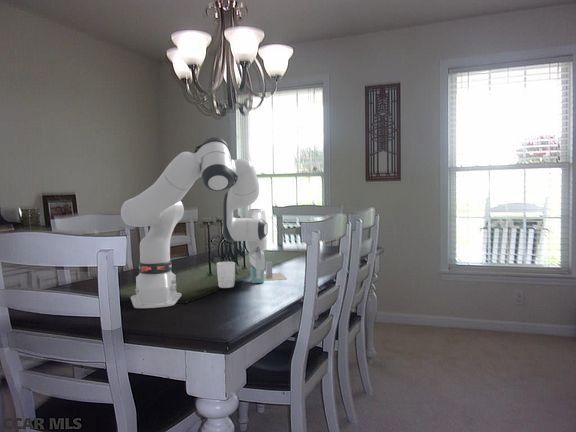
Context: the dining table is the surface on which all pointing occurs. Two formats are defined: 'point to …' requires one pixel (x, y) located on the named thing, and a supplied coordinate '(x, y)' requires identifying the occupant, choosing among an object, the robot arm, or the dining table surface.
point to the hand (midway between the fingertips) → (257, 276)
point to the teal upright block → (253, 275)
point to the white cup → (226, 274)
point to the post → (270, 275)
